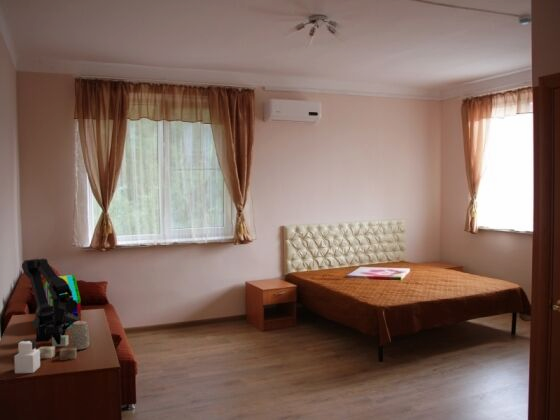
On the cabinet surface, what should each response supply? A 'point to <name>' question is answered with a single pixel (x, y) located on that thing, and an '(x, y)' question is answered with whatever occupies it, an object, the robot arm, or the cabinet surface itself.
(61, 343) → the sage brick
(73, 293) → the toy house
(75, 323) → the carving
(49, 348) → the birch brick
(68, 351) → the walnut brick
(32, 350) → the medicine bottle
